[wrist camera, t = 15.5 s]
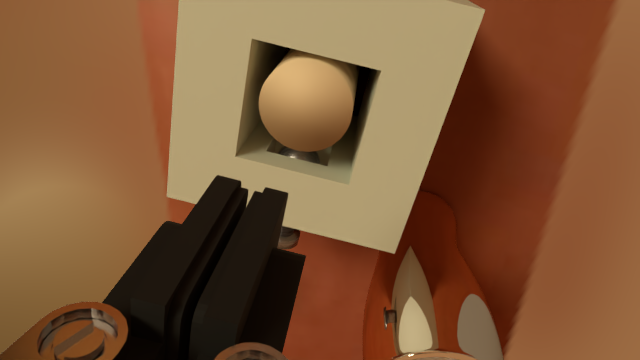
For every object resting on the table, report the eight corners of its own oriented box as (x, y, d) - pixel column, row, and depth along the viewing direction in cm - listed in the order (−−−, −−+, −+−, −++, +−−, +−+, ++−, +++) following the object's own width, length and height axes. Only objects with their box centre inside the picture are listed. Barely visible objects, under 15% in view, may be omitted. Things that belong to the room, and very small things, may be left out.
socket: (249, -60, 26) (183, -66, 17) (449, -10, 26) (485, 10, 17) (226, 128, 32) (166, 196, 23) (390, 169, 32) (394, 253, 23)
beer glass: (477, 199, 32) (547, 375, 19) (441, 272, 35) (478, 467, 22) (383, 172, 32) (387, 330, 19) (356, 248, 35) (342, 429, 22)
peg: (302, 14, 28) (266, 50, 19) (369, 30, 28) (363, 74, 19) (290, 79, 30) (252, 139, 21) (352, 95, 30) (340, 161, 21)
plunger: (284, 129, 25) (276, 146, 23) (326, 140, 25) (321, 157, 23) (266, 223, 28) (257, 245, 26) (304, 232, 28) (297, 255, 26)
